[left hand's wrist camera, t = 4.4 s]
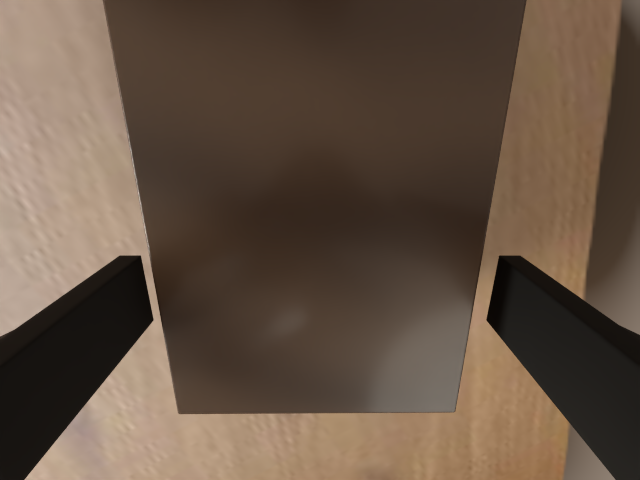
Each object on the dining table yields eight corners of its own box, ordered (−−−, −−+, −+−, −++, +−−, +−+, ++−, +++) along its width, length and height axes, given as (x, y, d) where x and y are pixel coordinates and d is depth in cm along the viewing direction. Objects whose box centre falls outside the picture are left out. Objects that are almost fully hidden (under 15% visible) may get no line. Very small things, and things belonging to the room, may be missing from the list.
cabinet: (203, -30, 16) (62, -213, 7) (428, -29, 16) (564, -210, 7) (234, 294, 21) (177, 414, 13) (399, 294, 21) (455, 413, 13)
